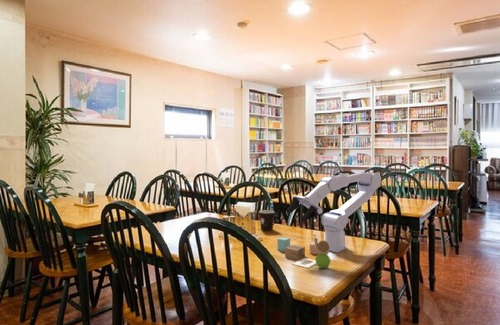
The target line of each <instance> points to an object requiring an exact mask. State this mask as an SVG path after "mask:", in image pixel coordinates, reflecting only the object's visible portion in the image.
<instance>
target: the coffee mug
mask: <svg viewBox="0 0 500 325" xmlns="http://www.w3.org/2000/svg"><path fill="white" fill-rule="evenodd" d="M258 216H259V224H260V230H261V231H262V230H264V231H263V232H271V231H270V230H272V231H273V230H274V228H273V227H274V225H275V224H276V223H277V222H278V221H279V220H278V216H276V215H275V211H274V210H270V209H267V210H266V209H264V210H259V211H258ZM274 217H275V218H276V221H275V222H274V220H275V219H274Z"/></svg>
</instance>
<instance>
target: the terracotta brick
mask: <svg viewBox="0 0 500 325" xmlns="http://www.w3.org/2000/svg"><path fill="white" fill-rule="evenodd" d="M309 254H313V255H319V254H321V253H319V252H318V251H317V250H316V247H315V241H311V243H310V244H309Z"/></svg>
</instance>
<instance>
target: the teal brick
mask: <svg viewBox="0 0 500 325" xmlns="http://www.w3.org/2000/svg"><path fill="white" fill-rule="evenodd" d="M290 245H291V238H290V237H283V236H280V237H279V238H277V250H278V251H280V252H285V248H286V247H288V246H290Z"/></svg>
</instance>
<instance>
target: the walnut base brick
mask: <svg viewBox="0 0 500 325" xmlns="http://www.w3.org/2000/svg"><path fill="white" fill-rule="evenodd" d="M284 257H285V258H288V259H293V260H296V261H299V260H301V259H303V258H305V257H306V247H305V246H300V245H297V244H290V246H288V247H286V248H285V251H284Z"/></svg>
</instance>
